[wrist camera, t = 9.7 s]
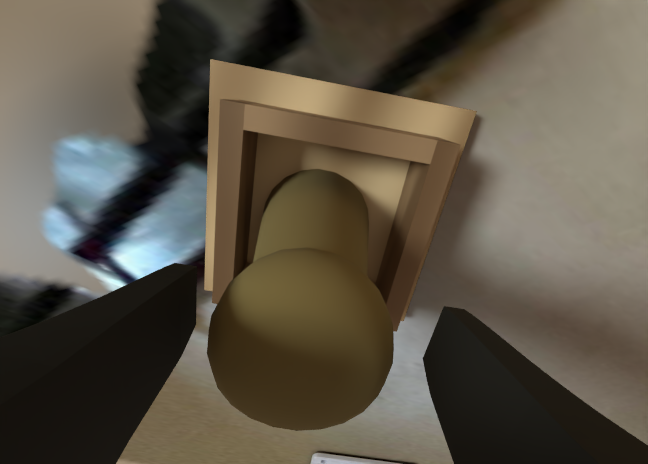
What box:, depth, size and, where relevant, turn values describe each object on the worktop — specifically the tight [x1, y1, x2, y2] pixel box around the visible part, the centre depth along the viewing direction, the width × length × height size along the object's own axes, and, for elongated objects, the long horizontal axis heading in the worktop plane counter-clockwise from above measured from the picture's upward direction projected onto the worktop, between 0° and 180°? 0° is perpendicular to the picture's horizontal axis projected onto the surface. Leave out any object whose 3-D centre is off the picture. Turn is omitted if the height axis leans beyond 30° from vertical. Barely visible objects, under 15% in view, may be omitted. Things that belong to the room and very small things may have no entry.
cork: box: [207, 169, 394, 431], centre depth 12 cm, size 6×6×11 cm
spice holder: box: [205, 59, 477, 332], centre depth 16 cm, size 13×13×4 cm
